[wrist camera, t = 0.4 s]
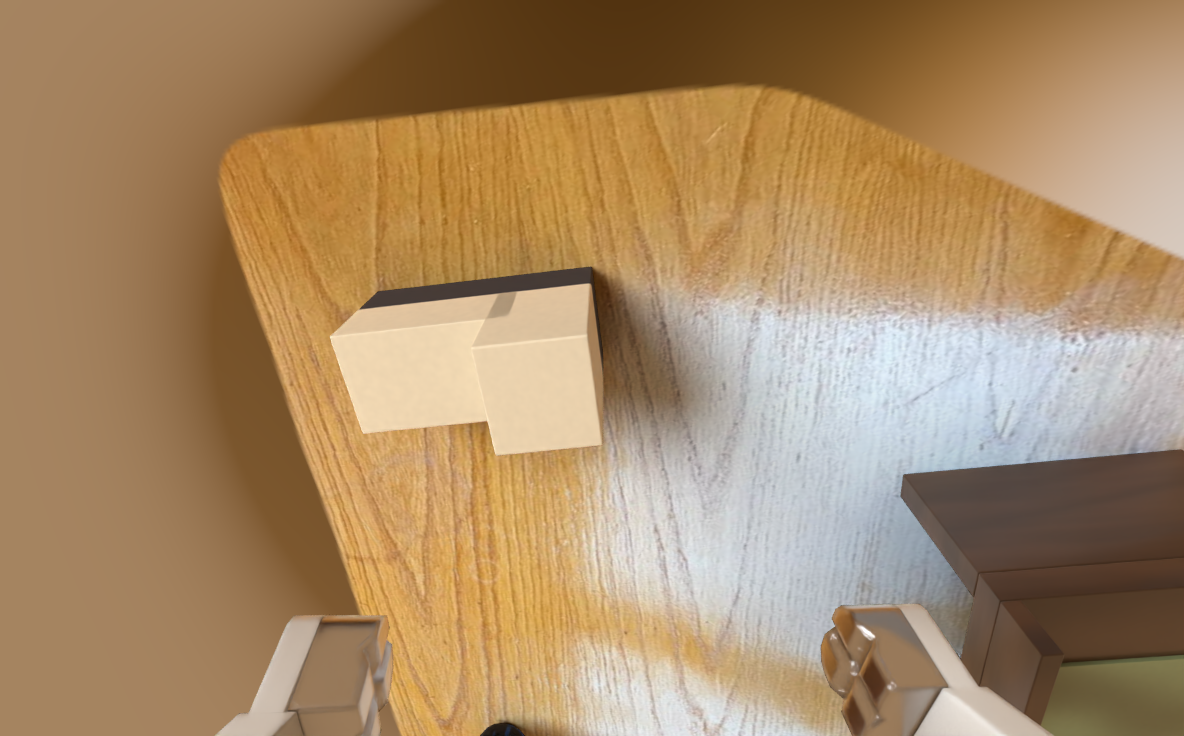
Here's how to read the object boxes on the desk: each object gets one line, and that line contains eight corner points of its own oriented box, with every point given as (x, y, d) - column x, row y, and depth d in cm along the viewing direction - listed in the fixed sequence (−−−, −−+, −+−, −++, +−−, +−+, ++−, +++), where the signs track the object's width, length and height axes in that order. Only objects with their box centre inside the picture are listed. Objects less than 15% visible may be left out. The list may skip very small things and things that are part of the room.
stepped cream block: (377, 291, 27) (296, 366, 20) (592, 266, 26) (588, 334, 19) (402, 375, 29) (337, 472, 22) (603, 354, 28) (603, 446, 21)
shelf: (902, 473, 31) (1042, 656, 21) (1181, 448, 30) (1463, 627, 20) (866, 749, 42) (949, 957, 32) (1073, 737, 41) (1225, 948, 31)
